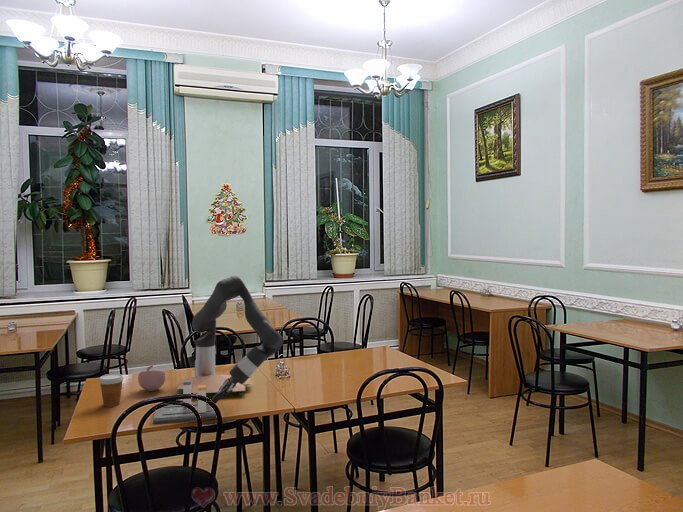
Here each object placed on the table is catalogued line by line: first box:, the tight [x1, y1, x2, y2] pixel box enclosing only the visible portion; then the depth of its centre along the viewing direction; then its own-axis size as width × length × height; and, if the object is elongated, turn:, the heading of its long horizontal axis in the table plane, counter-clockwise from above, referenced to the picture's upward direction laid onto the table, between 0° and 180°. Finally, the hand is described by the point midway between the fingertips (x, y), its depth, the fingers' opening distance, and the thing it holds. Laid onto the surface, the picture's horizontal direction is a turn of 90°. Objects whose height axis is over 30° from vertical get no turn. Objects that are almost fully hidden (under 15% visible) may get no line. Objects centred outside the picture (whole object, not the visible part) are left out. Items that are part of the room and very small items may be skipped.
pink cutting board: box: [176, 373, 252, 398], centre depth 235 cm, size 23×33×8 cm
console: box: [152, 402, 218, 424], centre depth 205 cm, size 24×15×2 cm, turn 104°
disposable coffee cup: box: [98, 373, 124, 408], centre depth 216 cm, size 10×10×12 cm
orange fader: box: [197, 385, 207, 413], centre depth 202 cm, size 3×3×11 cm
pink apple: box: [137, 364, 167, 392], centre depth 236 cm, size 12×12×11 cm
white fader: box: [182, 380, 192, 407], centre depth 209 cm, size 3×3×11 cm
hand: (212, 402), depth 203 cm, fingers closed
